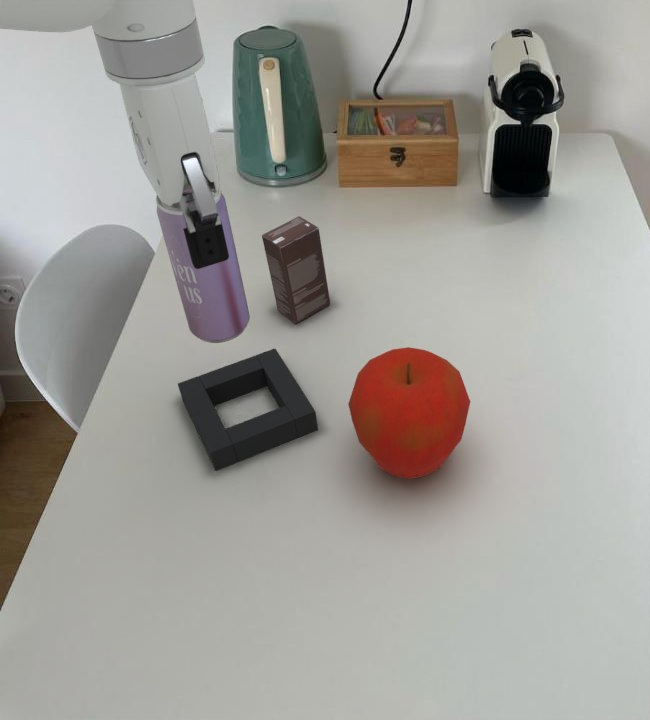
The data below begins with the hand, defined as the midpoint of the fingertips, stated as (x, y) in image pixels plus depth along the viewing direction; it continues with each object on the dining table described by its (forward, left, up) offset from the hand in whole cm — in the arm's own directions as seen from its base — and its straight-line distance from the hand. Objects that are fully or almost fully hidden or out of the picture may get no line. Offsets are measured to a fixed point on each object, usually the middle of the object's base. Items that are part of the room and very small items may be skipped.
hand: (199, 242), depth 74 cm
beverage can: (0, 0, -10) cm, 10 cm away
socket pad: (+1, +2, -25) cm, 26 cm away
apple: (+14, -13, -26) cm, 32 cm away
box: (+14, +17, -26) cm, 34 cm away
